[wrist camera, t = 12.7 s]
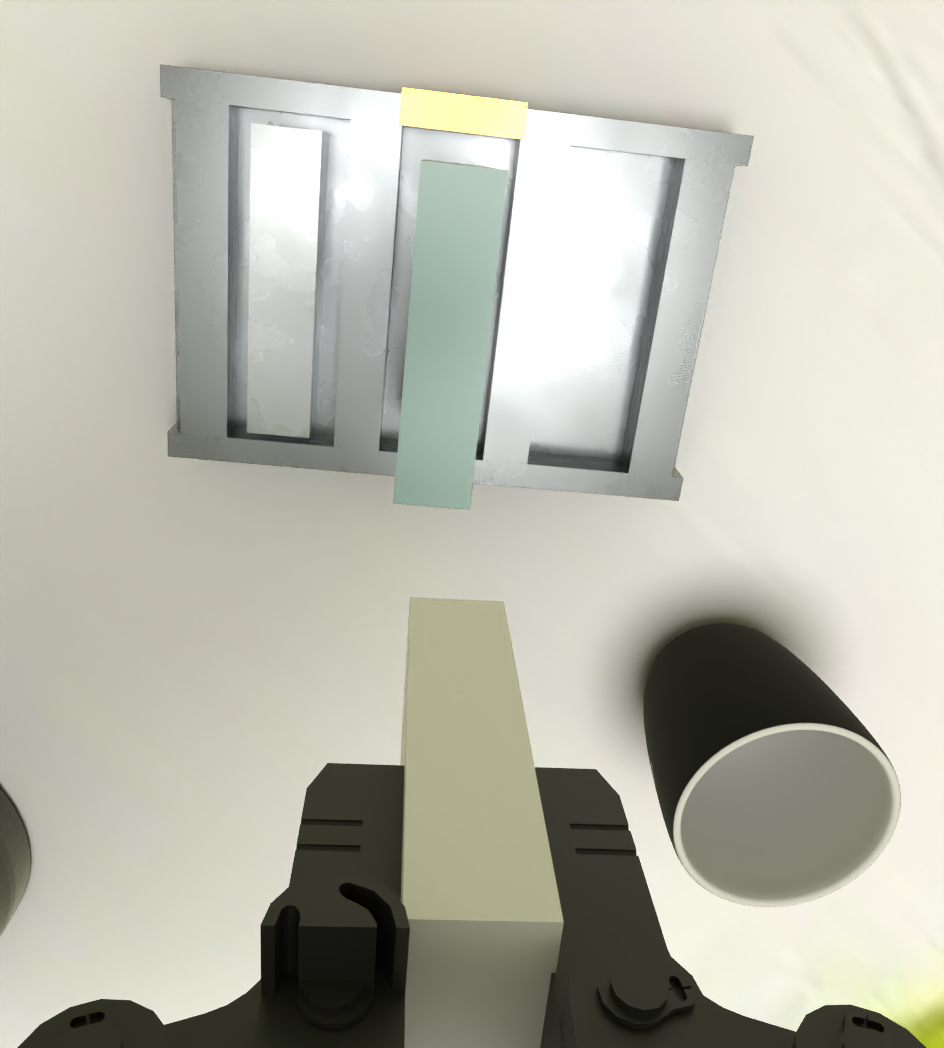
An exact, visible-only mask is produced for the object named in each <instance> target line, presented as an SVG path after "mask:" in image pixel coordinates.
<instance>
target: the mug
mask: <svg viewBox="0 0 944 1048" xmlns="http://www.w3.org/2000/svg"><path fill="white" fill-rule="evenodd" d="M644 726H645V734H646V742H647V749H648V755H649V760H650V765H651V770H652V774H653V779H654V783H655V787H656V791H657V795H658V799H659V803H660V807H661V811H662V814H663V818H664V821H665V824H666V827H667V831H668V834H669V836H670V839H671V842H672V844H673V847H674V849H675V852H676V854H677V856H678V858H679V860H680V862H681V864H682V865H683V867H684V868H685V870H686V871H687V873H688V874H689V875H690V876H691V877H692V878H693V879H694V880H695V881H696V882H697V883H698V884H699V885H700V886H702V887H703V888H705V889H706V890H707V891H709V892H711V893H713V894H714V895H716V896H718V897H721V898H723V899H725V900H728V901H731V902H735V903H739V904H743V905H749V906H757V907H781V906H789V905H796V904H800V903H804V902H808V901H811V900H815V899H818V898H820V897H823V896H825V895H828V894H830V893H832V892H834V891H836V890H838V889H840V888H842V887H843V886H845V885H847V884H848V883H850V882H851V881H853V880H854V879H856V878H857V877H858V876H859V875H861V874H862V873H863V872H864V871H865V870H866V869H867V868H869V867H870V866H871V865H872V864H873V862H874V861H875V860H876V859H877V858H878V857H879V855H880V854H881V853H882V852H883V850H884V849H885V847H886V846H887V844H888V842H889V841H890V839H891V837H892V835H893V833H894V830H895V828H896V825H897V822H898V818H899V814H900V807H901V793H900V786H899V782H898V778H897V775H896V773H895V770H894V768H893V766H892V764H891V762H890V761H889V759H888V757H887V756H886V754H885V753H884V751H883V750H882V749H881V747H880V746H879V744H878V743H877V742H876V740H875V739H874V738H873V736H872V735H871V734H870V733H869V731H868V730H867V729H866V728H865V727H864V725H863V724H862V723H861V722H860V721H859V720H858V718H857V717H856V716H855V715H854V714H853V713H852V712H851V710H850V709H849V708H848V707H847V706H846V705H845V704H844V703H843V702H842V701H841V700H840V699H839V697H838V696H837V695H836V694H835V693H834V692H833V691H832V690H831V689H830V688H829V687H828V686H827V685H826V684H825V683H824V682H823V681H822V680H821V679H820V678H819V677H818V676H817V675H816V674H815V673H814V672H813V671H812V670H811V669H810V668H809V667H807V666H806V665H805V664H804V663H803V662H802V661H801V660H799V659H798V658H797V657H796V656H795V655H794V654H792V653H791V652H790V651H789V650H787V649H786V648H785V647H783V646H782V645H780V644H779V643H778V642H776V641H775V640H773V639H771V638H770V637H768V636H766V635H764V634H762V633H760V632H758V631H756V630H753V629H750V628H747V627H743V626H738V625H732V624H713V625H707V626H703V627H699V628H696V629H693V630H691V631H688V632H686V633H684V634H683V635H681V636H679V637H678V638H676V639H675V640H674V641H672V642H671V643H670V644H669V645H668V646H667V647H666V648H665V649H664V650H663V651H662V652H661V653H660V655H659V656H658V657H657V659H656V661H655V662H654V664H653V666H652V668H651V670H650V673H649V675H648V678H647V681H646V686H645V692H644Z"/></svg>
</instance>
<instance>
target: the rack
mask: <svg viewBox="0 0 944 1048" xmlns="http://www.w3.org/2000/svg"><path fill="white" fill-rule="evenodd" d="M160 83H161V97H164V98H168V99H172V141H173V204H174V266H175V329H176V391H177V423H176V424H175V425H174V426H173V427H172V428H171V429H170V430H169V431H168V456H170V457H182V458H193V459H205V460H216V461H228V462H239V463H251V464H262V465H273V466H285V467H296V468H308V469H319V470H331V471H342V472H353V473H365V474H376V475H388V476H396V465H397V452H398V440H399V427H400V415H401V402H402V390H403V377H404V365H405V352H406V339H407V327H408V314H409V302H410V289H411V277H412V264H413V252H414V239H415V226H416V214H417V201H418V189H419V176H420V164H421V160H424V159H425V160H433V161H442V162H451V163H459V164H468V165H477V166H485V167H491V168H497V169H502V170H507V171H508V178H507V186H506V195H505V204H504V213H503V221H502V230H501V239H500V248H499V257H498V265H497V274H496V283H495V292H494V301H493V309H492V318H491V327H490V336H489V344H488V353H487V362H486V371H485V380H484V388H483V397H482V406H481V415H480V423H479V432H478V441H477V450H476V459H475V467H474V476H473V483H479V484H491V485H502V486H513V487H525V488H536V489H548V490H559V491H571V492H582V493H594V494H605V495H616V496H628V497H639V498H651V499H662V500H674V501H679V497H680V492H681V487H682V482H683V477H682V476H681V475H680V473H679V472H678V471H677V470H676V468H675V467H674V466H675V461H676V456H677V451H678V446H679V441H680V436H681V431H682V426H683V421H684V416H685V411H686V406H687V401H688V396H689V391H690V386H691V381H692V376H693V372H694V367H695V362H696V357H697V352H698V347H699V342H700V337H701V332H702V327H703V322H704V317H705V312H706V307H707V302H708V297H709V292H710V287H711V282H712V277H713V272H714V267H715V262H716V257H717V252H718V247H719V242H720V237H721V232H722V227H723V222H724V217H725V212H726V207H727V203H728V198H729V193H730V188H731V183H732V178H733V173H734V168H735V166H748V162H749V157H750V152H751V148H752V143H753V138H754V136H748V135H740V134H732V133H724V132H715V131H707V130H699V129H690V128H682V127H674V126H666V125H657V124H649V123H641V122H632V121H624V120H616V119H608V118H599V117H591V116H583V115H574V114H566V113H558V112H550V111H541V110H533V109H528V108H527V103H526V102H518V101H510V100H501V99H493V98H485V97H477V96H468V95H460V94H452V93H444V92H435V91H427V90H419V89H411V88H402V93H392V92H384V91H376V90H367V89H359V88H351V87H343V86H334V85H326V84H318V83H309V82H301V81H293V80H285V79H276V78H268V77H260V76H251V75H243V74H235V73H227V72H218V71H210V70H202V69H193V68H185V67H177V66H169V65H160Z"/></svg>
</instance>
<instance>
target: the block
mask: <svg viewBox="0 0 944 1048" xmlns="http://www.w3.org/2000/svg"><path fill="white" fill-rule="evenodd" d="M507 178H508V171H507V170H502V169H497V168H491V167H485V166H477V165H468V164H459V163H451V162H442V161H433V160H425V159H424V160H421V164H420V176H419V189H418V201H417V214H416V226H415V239H414V252H413V264H412V277H411V289H410V302H409V314H408V327H407V339H406V352H405V365H404V377H403V390H402V402H401V415H400V427H399V440H398V452H397V465H396V478H395V490H394V503H395V504H407V505H419V506H431V507H442V508H454V509H466V510H470V503H471V494H472V485H473V476H474V467H475V459H476V450H477V441H478V432H479V423H480V415H481V406H482V397H483V388H484V380H485V371H486V362H487V353H488V344H489V336H490V327H491V318H492V309H493V301H494V292H495V283H496V274H497V265H498V257H499V248H500V239H501V230H502V221H503V213H504V204H505V195H506V186H507Z"/></svg>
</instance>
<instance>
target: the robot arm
mask: <svg viewBox="0 0 944 1048" xmlns="http://www.w3.org/2000/svg"><path fill="white" fill-rule="evenodd" d="M30 863H31V860H30V849H29V843H28V839H27V835H26V832H25V829H24V826H23V824H22V822H21V819H20V817H19V815H18V814H17V812H16V810H15V808H14V807H13V805H12V804H11V802H10V800H9V799H8V798H7V796H6V795H5V794H4V792H3V791H2V790H1V789H0V936H1V934H2V933H3V931H4V929H5V928H6V926H7V924H8V922H9V921H10V919H11V917H12V915H13V913H14V912H15V910H16V908H17V906H18V904H19V903H20V901H21V899H22V897H23V895H24V892H25V890H26V887H27V884H28V880H29V874H30ZM18 1048H926V1047H925V1046H924V1045H923V1044H922V1043H921V1042H920V1041H919V1040H918V1039H916V1038H915V1037H914V1036H913V1035H912V1034H911V1033H910V1032H909V1031H908V1030H907V1029H905V1028H904V1027H902V1026H900V1025H898V1024H897V1023H895V1022H893V1021H892V1020H890V1019H888V1018H886V1017H885V1016H883V1015H881V1014H880V1013H877V1012H874V1011H870V1010H867V1009H863V1008H860V1007H857V1006H853V1005H825V1006H823V1007H821V1008H819V1009H817V1010H815V1011H813V1012H811V1013H809V1014H807V1015H806V1016H805V1018H804V1019H803V1021H802V1023H801V1025H800V1026H799V1028H798V1030H797V1032H795V1031H791V1030H788V1029H785V1028H781V1027H778V1026H775V1025H771V1024H768V1023H765V1022H762V1021H758V1020H755V1019H752V1018H748V1017H745V1016H742V1015H740V1014H737V1013H735V1012H732V1011H730V1010H727V1009H725V1008H723V1007H721V1006H719V1005H718V1004H716V1003H715V1002H713V1001H711V1000H710V999H708V998H706V997H705V996H703V994H702V992H701V991H700V989H699V987H698V985H697V984H696V982H695V980H694V978H693V976H692V975H691V974H689V973H688V972H687V971H686V970H685V969H684V968H683V967H682V966H681V965H680V964H679V963H677V962H676V961H675V960H674V959H673V958H671V956H670V954H669V951H668V949H667V946H666V943H665V940H664V937H663V934H662V930H661V927H660V924H659V921H658V918H657V914H656V911H655V908H654V905H653V902H652V898H651V895H650V892H649V889H648V886H647V883H646V879H645V876H644V873H643V870H642V867H641V863H640V860H639V857H638V856H636V847H635V844H634V841H633V838H632V835H631V831H629V830H628V822H627V819H626V815H625V812H624V809H623V806H622V803H621V799H620V796H619V795H618V793H617V792H616V791H615V790H614V789H613V788H612V787H611V786H610V785H609V783H608V782H607V781H606V780H605V779H604V778H603V777H602V776H601V775H600V773H599V772H598V771H597V770H596V769H569V768H539V767H534V762H533V756H532V751H531V746H530V740H529V735H528V730H527V724H526V719H525V714H524V708H523V703H522V698H521V692H520V687H519V682H518V676H517V671H516V666H515V661H514V655H513V650H512V645H511V639H510V634H509V629H508V623H507V618H506V613H505V607H504V602H497V601H476V600H455V599H434V598H413V597H410V608H409V625H408V641H407V658H406V675H405V691H404V708H403V724H402V741H401V766H398V765H367V764H337V763H327V765H326V766H325V767H324V768H323V770H322V771H321V772H320V773H319V774H318V776H317V777H316V778H315V779H314V780H313V782H312V783H311V784H310V785H309V787H308V788H307V791H306V796H305V802H304V807H303V813H302V818H301V825H300V829H299V835H298V840H297V849H296V851H295V857H294V862H293V868H292V873H291V879H290V884H289V888H287V889H286V890H285V891H284V892H283V893H282V894H281V895H280V896H279V897H277V898H276V899H275V900H274V901H273V902H272V903H271V904H270V906H269V908H268V911H267V913H266V915H265V917H264V919H263V921H262V924H261V980H260V981H259V982H258V983H257V984H255V985H254V986H253V987H252V988H251V989H250V990H249V991H248V992H247V993H246V994H244V995H242V996H241V997H239V998H238V999H236V1000H234V1001H233V1002H231V1003H230V1004H228V1005H226V1006H223V1007H221V1008H218V1009H216V1010H213V1011H210V1012H208V1013H205V1014H202V1015H198V1016H195V1017H191V1018H187V1019H184V1020H180V1021H177V1022H173V1023H170V1024H166V1025H163V1023H162V1022H161V1021H160V1019H159V1018H158V1017H157V1015H156V1014H155V1013H154V1011H152V1010H150V1009H147V1008H145V1007H143V1006H141V1005H139V1004H137V1003H135V1002H132V1001H130V1000H110V999H100V1000H96V1001H92V1002H88V1003H85V1004H81V1005H77V1006H73V1007H70V1008H68V1009H66V1010H65V1011H63V1012H61V1013H59V1014H58V1015H56V1016H54V1017H53V1018H51V1019H49V1020H47V1021H46V1022H44V1023H42V1024H40V1025H39V1026H38V1027H37V1028H36V1029H35V1030H34V1032H33V1033H32V1034H31V1035H30V1036H29V1037H28V1038H27V1039H26V1040H25V1041H24V1042H23V1043H22V1044H21V1045H20V1046H19V1047H18Z"/></svg>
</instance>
